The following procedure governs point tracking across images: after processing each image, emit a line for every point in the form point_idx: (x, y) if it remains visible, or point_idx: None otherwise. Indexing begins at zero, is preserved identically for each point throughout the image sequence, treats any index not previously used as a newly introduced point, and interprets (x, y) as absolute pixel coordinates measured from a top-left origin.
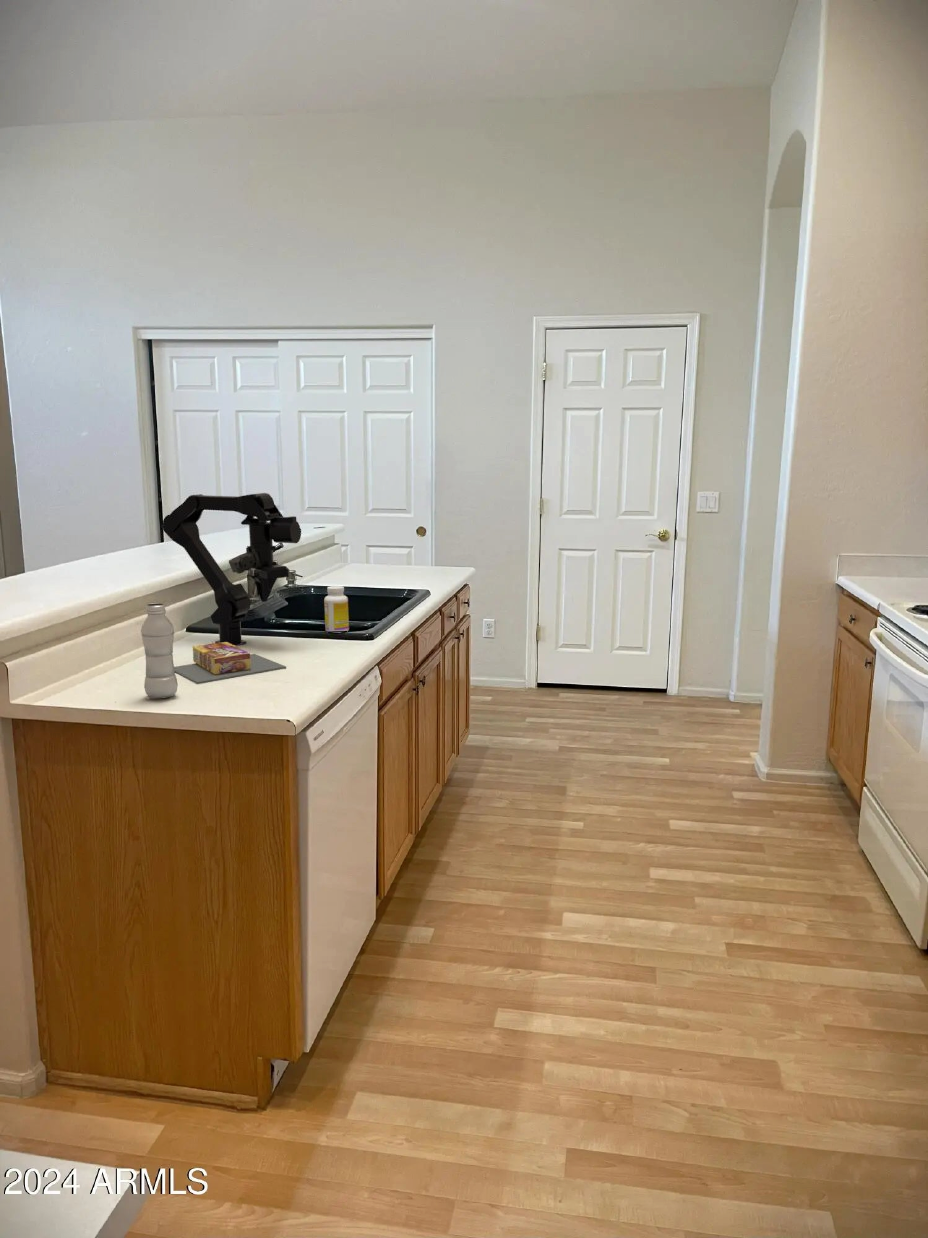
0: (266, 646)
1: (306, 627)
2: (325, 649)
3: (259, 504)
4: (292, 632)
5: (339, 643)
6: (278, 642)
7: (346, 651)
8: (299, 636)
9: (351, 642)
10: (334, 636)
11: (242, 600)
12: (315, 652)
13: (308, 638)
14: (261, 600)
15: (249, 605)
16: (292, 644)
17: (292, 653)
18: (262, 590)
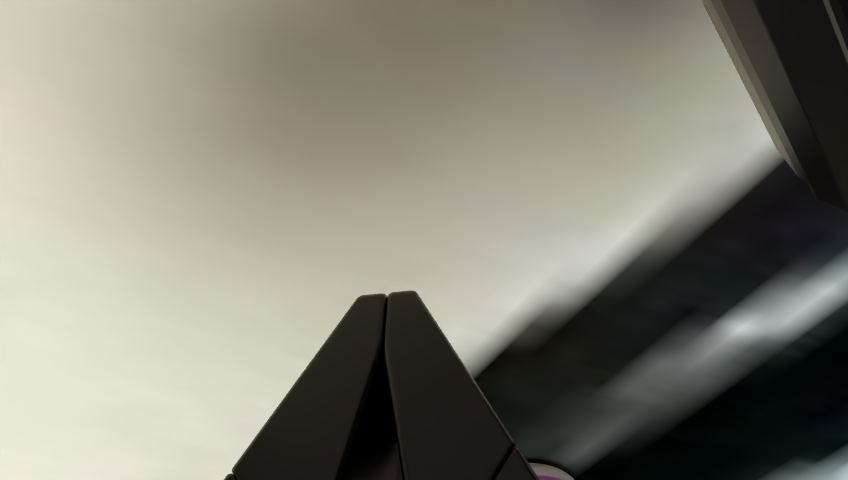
0: (391, 65)
1: (736, 430)
2: (112, 338)
3: None
4: (684, 344)
5: (240, 429)
6: (470, 186)
7: (19, 398)
8: (549, 340)
9: None
10: None
11: (813, 24)
12: (42, 272)
13: (461, 359)
14: (408, 296)
15: (780, 147)
16: (351, 238)
17: (56, 144)
18: (240, 478)
